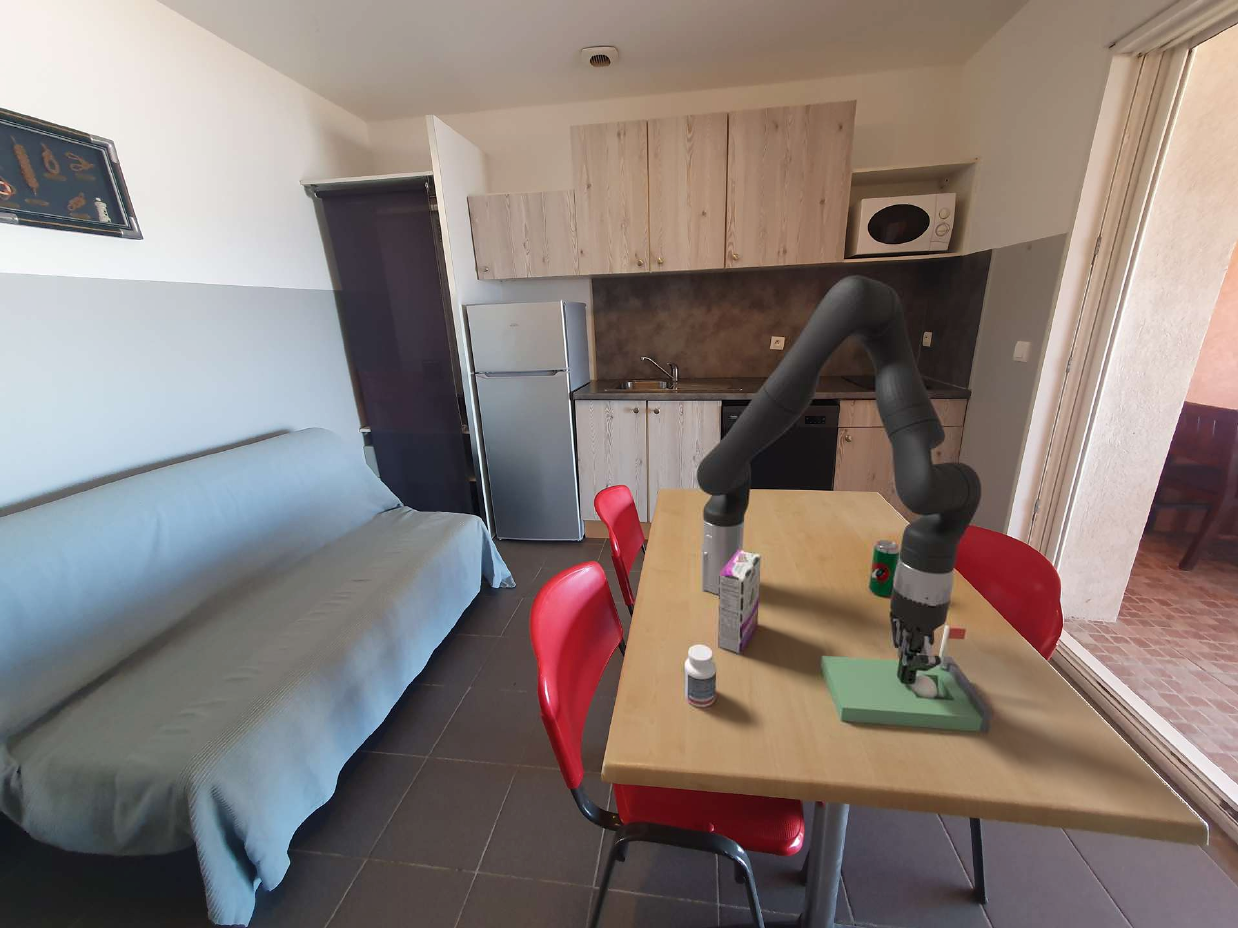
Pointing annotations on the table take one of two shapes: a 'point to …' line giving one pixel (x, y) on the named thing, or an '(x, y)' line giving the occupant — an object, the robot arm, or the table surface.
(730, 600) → the candy bar box
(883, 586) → the soda can
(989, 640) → the table surface
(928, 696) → the ball
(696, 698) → the pill bottle
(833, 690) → the green
